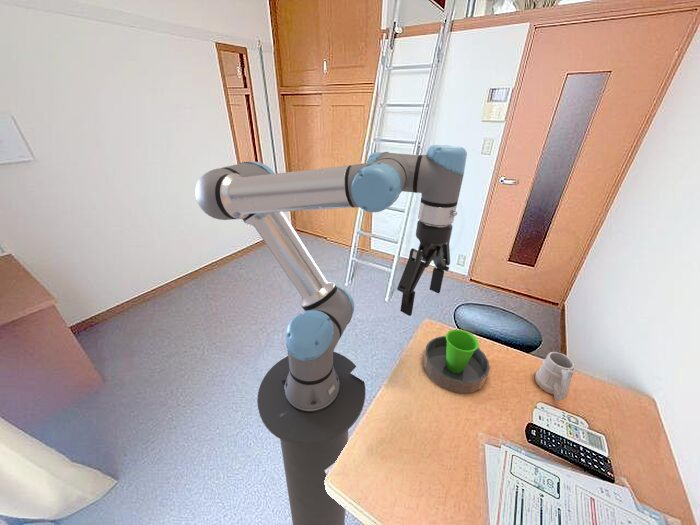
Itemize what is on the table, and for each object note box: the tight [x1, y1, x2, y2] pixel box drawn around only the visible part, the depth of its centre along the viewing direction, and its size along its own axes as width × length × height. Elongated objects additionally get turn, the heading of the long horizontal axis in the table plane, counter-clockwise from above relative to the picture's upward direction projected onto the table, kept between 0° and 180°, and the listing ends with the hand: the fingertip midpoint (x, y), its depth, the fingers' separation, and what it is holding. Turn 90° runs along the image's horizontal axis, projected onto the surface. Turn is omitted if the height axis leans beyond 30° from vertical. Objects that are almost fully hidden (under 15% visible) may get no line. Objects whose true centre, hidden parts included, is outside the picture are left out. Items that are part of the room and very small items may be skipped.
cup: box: [445, 329, 480, 373], centre depth 85 cm, size 9×9×11 cm
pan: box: [422, 335, 491, 394], centre depth 87 cm, size 18×18×4 cm
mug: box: [534, 351, 576, 402], centre depth 79 cm, size 8×12×12 cm, turn 161°
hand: (421, 301), depth 72 cm, fingers open, 13 cm apart
